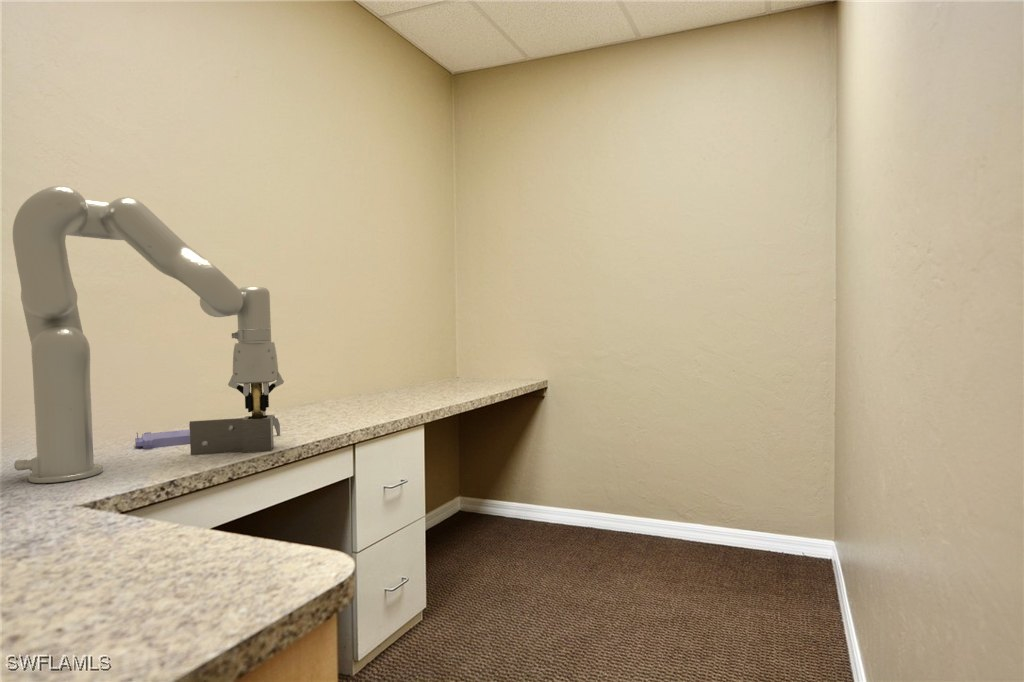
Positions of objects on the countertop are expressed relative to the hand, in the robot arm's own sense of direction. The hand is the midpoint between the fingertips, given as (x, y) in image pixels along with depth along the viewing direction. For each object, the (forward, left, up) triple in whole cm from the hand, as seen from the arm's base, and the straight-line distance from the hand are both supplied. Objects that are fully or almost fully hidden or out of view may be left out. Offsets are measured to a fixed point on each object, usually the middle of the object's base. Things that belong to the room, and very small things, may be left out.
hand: (257, 410), depth 151 cm
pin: (0, 0, -4) cm, 4 cm away
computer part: (-17, +21, -10) cm, 29 cm away
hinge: (-6, +6, -10) cm, 13 cm away
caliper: (-6, +16, -10) cm, 20 cm away
